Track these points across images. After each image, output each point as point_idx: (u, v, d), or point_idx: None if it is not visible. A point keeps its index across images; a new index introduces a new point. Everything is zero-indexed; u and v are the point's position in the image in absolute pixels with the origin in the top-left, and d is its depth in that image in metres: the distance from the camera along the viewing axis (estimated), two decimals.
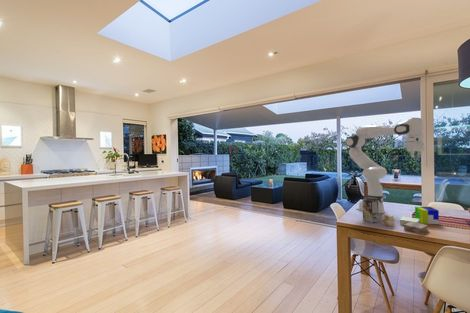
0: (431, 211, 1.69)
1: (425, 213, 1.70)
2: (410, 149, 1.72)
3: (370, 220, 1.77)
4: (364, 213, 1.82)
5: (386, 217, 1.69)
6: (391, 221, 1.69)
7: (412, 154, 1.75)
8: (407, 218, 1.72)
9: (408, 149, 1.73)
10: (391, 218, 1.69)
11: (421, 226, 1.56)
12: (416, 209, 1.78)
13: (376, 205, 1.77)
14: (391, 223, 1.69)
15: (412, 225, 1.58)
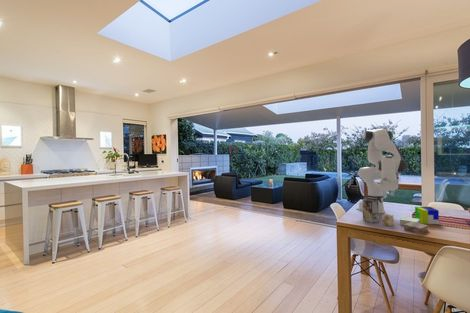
0: (431, 211, 1.69)
1: (425, 213, 1.70)
2: None
3: (370, 220, 1.77)
4: (364, 213, 1.82)
5: (386, 217, 1.69)
6: (391, 221, 1.69)
7: None
8: (407, 218, 1.72)
9: None
10: (391, 218, 1.69)
11: (421, 226, 1.56)
12: (416, 209, 1.78)
13: (376, 205, 1.77)
14: (391, 223, 1.69)
15: (412, 225, 1.58)
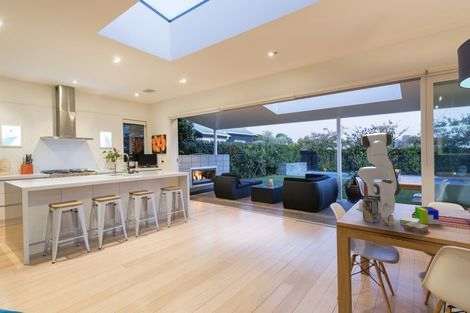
0: (431, 211, 1.69)
1: (425, 213, 1.70)
2: None
3: (370, 220, 1.77)
4: (364, 213, 1.82)
5: None
6: (391, 221, 1.69)
7: None
8: (407, 218, 1.72)
9: None
10: (391, 218, 1.69)
11: (421, 226, 1.56)
12: (416, 209, 1.78)
13: (376, 205, 1.77)
14: (391, 223, 1.69)
15: (412, 225, 1.58)
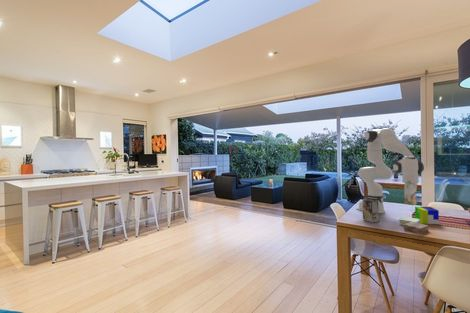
0: (431, 211, 1.69)
1: (425, 213, 1.70)
2: None
3: (370, 220, 1.77)
4: (364, 213, 1.82)
5: None
6: (414, 200, 1.57)
7: None
8: (407, 218, 1.72)
9: None
10: (414, 197, 1.57)
11: (421, 226, 1.55)
12: (416, 209, 1.78)
13: (376, 205, 1.77)
14: (414, 202, 1.57)
15: (411, 225, 1.58)
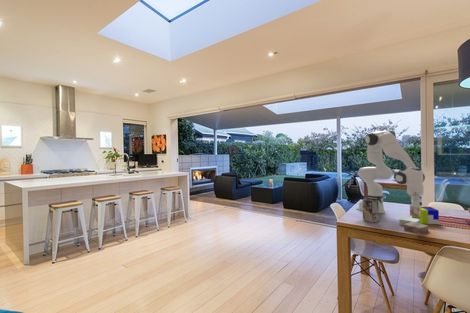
0: (431, 211, 1.69)
1: (425, 213, 1.70)
2: None
3: (370, 220, 1.77)
4: (364, 213, 1.82)
5: None
6: (419, 211, 1.56)
7: None
8: (407, 218, 1.72)
9: None
10: (419, 208, 1.56)
11: (421, 226, 1.55)
12: None
13: (376, 205, 1.77)
14: (419, 213, 1.56)
15: (411, 225, 1.58)
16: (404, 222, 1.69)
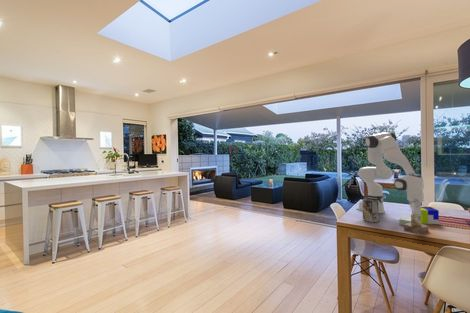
0: (431, 211, 1.69)
1: (425, 213, 1.70)
2: None
3: (370, 220, 1.77)
4: (364, 213, 1.82)
5: None
6: (420, 221, 1.57)
7: None
8: (407, 218, 1.72)
9: None
10: (420, 217, 1.57)
11: (421, 226, 1.55)
12: None
13: (376, 205, 1.77)
14: (420, 223, 1.57)
15: (411, 225, 1.58)
16: (404, 222, 1.69)
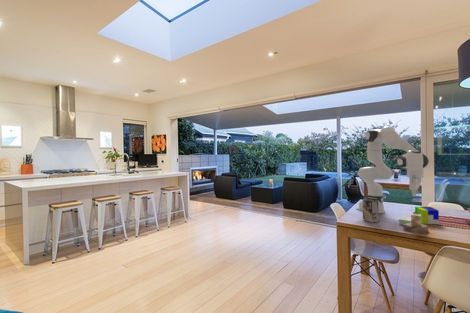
0: (431, 211, 1.69)
1: (425, 213, 1.70)
2: None
3: (370, 220, 1.77)
4: (364, 213, 1.82)
5: (416, 217, 1.56)
6: (420, 221, 1.56)
7: None
8: (407, 218, 1.72)
9: None
10: (420, 218, 1.56)
11: (421, 226, 1.55)
12: (416, 209, 1.78)
13: (376, 205, 1.77)
14: (420, 223, 1.56)
15: (411, 225, 1.58)
16: (404, 222, 1.69)
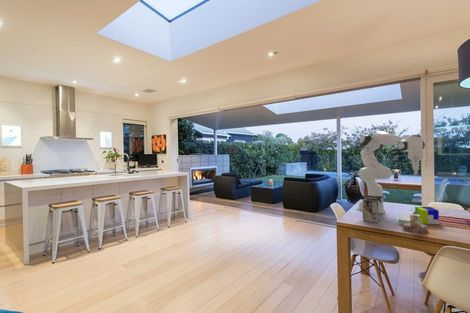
0: (431, 211, 1.69)
1: (425, 213, 1.70)
2: None
3: (370, 220, 1.77)
4: (364, 213, 1.82)
5: (415, 217, 1.56)
6: (419, 221, 1.56)
7: None
8: (407, 218, 1.72)
9: None
10: (419, 218, 1.56)
11: (421, 226, 1.55)
12: (416, 209, 1.78)
13: (376, 205, 1.77)
14: (419, 223, 1.56)
15: None
16: (403, 222, 1.69)
